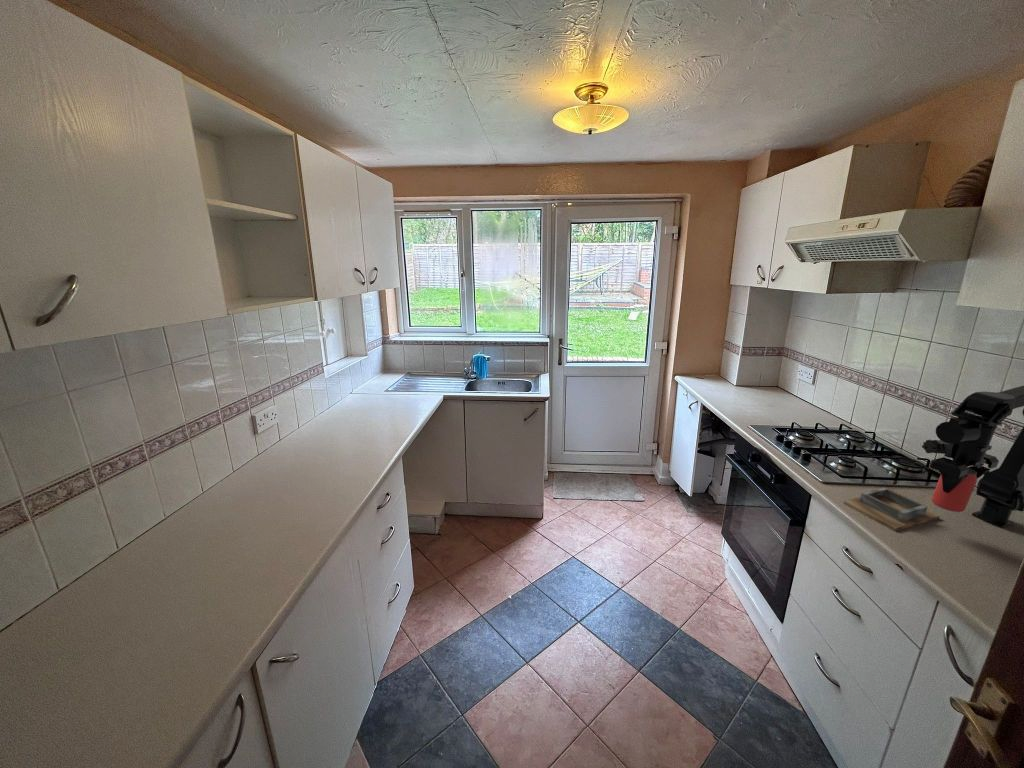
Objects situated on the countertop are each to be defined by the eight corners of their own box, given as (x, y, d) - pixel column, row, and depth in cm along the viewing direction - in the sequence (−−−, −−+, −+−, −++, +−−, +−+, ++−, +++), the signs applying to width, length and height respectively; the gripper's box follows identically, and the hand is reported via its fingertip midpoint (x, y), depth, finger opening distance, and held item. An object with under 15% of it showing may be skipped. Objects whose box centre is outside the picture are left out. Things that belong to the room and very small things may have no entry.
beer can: (945, 499, 116) (959, 462, 112) (971, 512, 110) (987, 474, 106) (923, 499, 115) (937, 463, 112) (948, 513, 109) (964, 475, 106)
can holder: (885, 493, 132) (889, 482, 131) (939, 518, 120) (943, 507, 118) (843, 503, 126) (846, 492, 125) (895, 531, 114) (899, 519, 113)
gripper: (954, 423, 116) (936, 470, 121) (914, 431, 110) (897, 480, 115) (1009, 439, 106) (987, 490, 111) (969, 449, 100) (947, 502, 105)
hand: (953, 489), depth 111 cm, fingers closed on beer can, 7 cm apart
